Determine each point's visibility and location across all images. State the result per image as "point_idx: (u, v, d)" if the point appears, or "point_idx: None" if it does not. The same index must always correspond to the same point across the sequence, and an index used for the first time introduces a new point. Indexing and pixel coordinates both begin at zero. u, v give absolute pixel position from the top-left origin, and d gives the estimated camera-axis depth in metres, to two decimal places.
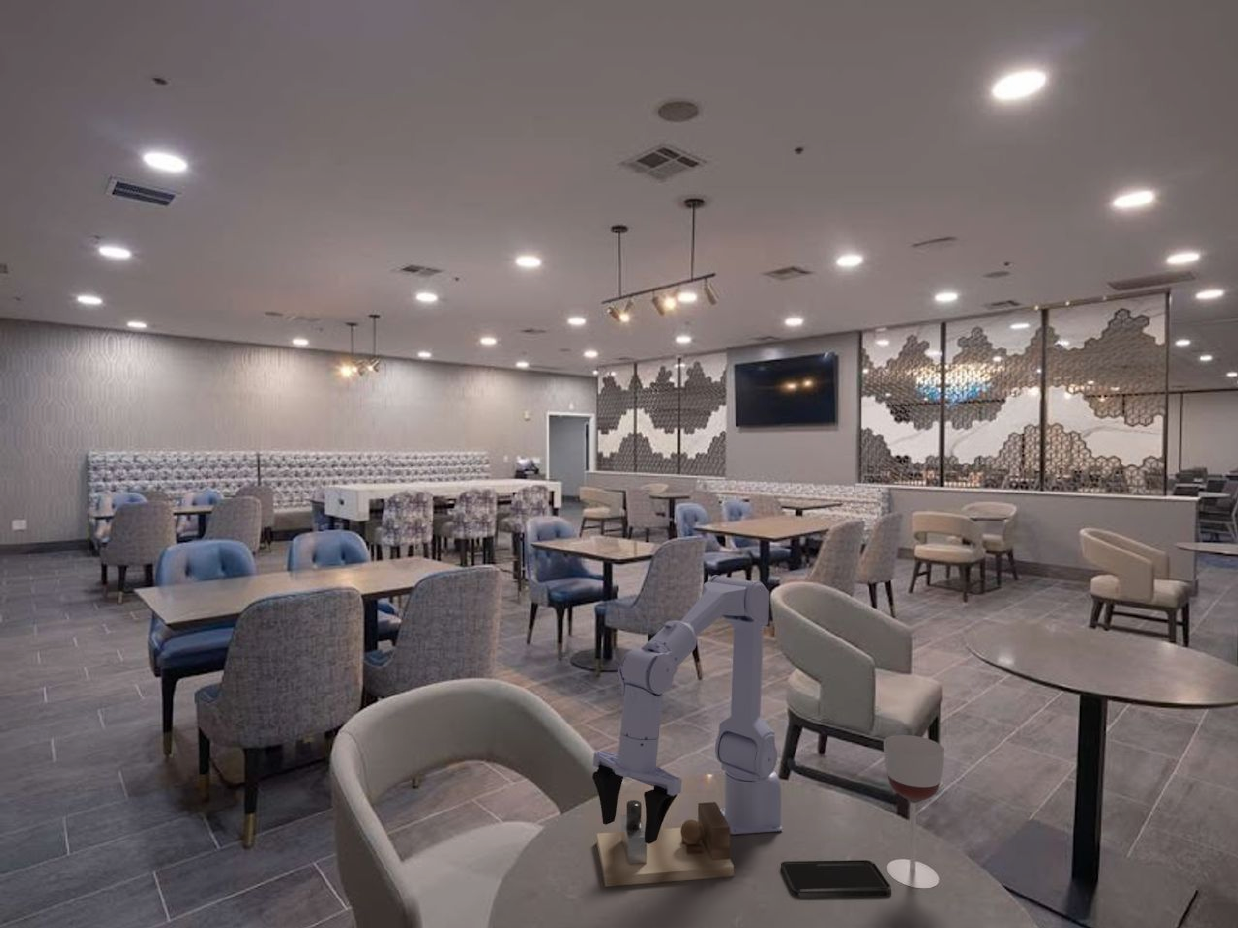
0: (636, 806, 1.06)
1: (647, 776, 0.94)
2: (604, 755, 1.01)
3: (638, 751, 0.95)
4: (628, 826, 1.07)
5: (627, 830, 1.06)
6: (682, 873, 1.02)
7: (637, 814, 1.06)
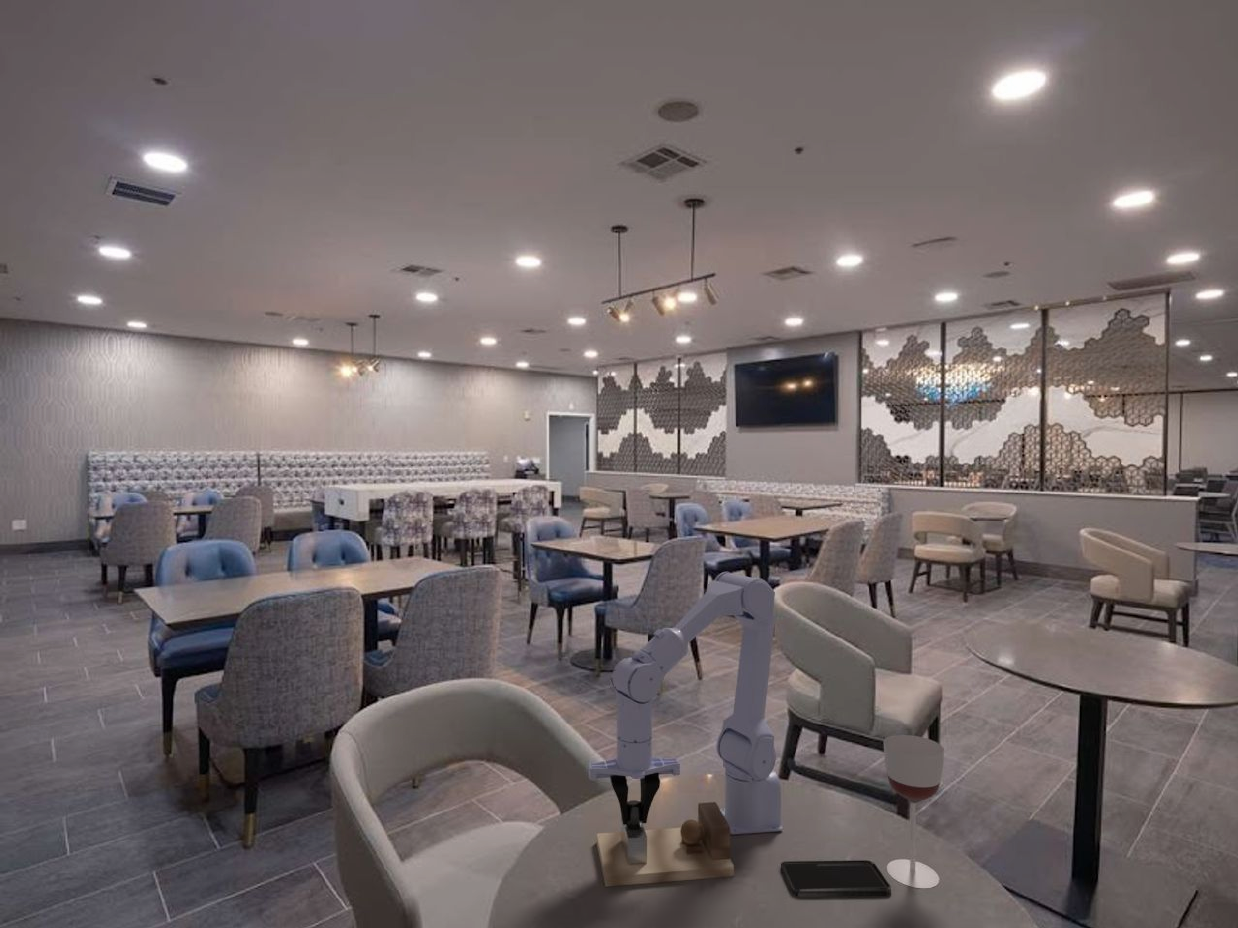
0: (636, 806, 1.06)
1: (657, 768, 1.06)
2: (598, 766, 1.06)
3: (647, 751, 1.05)
4: (628, 826, 1.07)
5: (627, 830, 1.06)
6: (682, 873, 1.02)
7: (637, 814, 1.06)
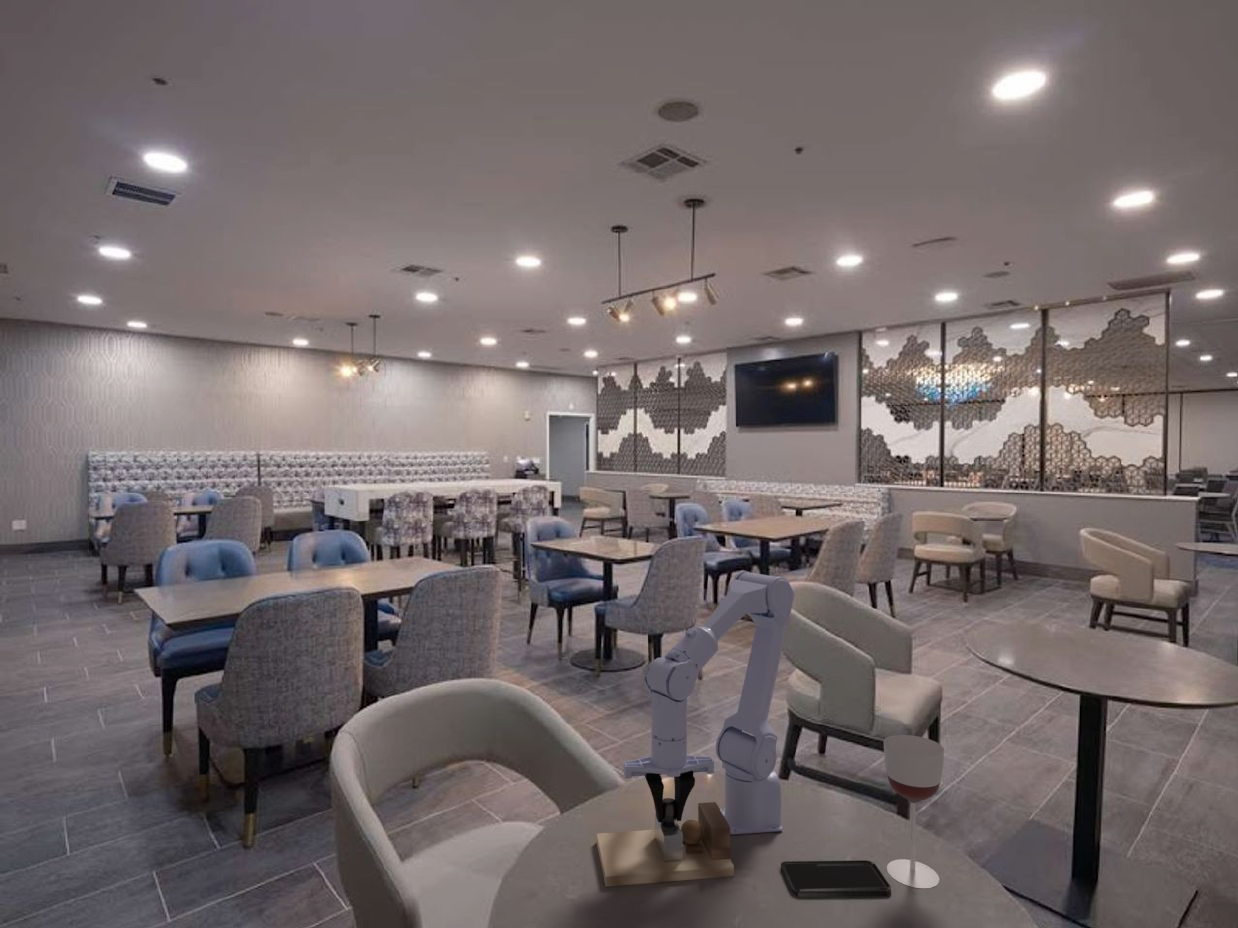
0: (670, 804, 1.07)
1: (692, 766, 1.07)
2: (633, 764, 1.07)
3: (682, 750, 1.06)
4: (663, 824, 1.07)
5: (662, 827, 1.07)
6: (682, 873, 1.02)
7: (672, 812, 1.07)
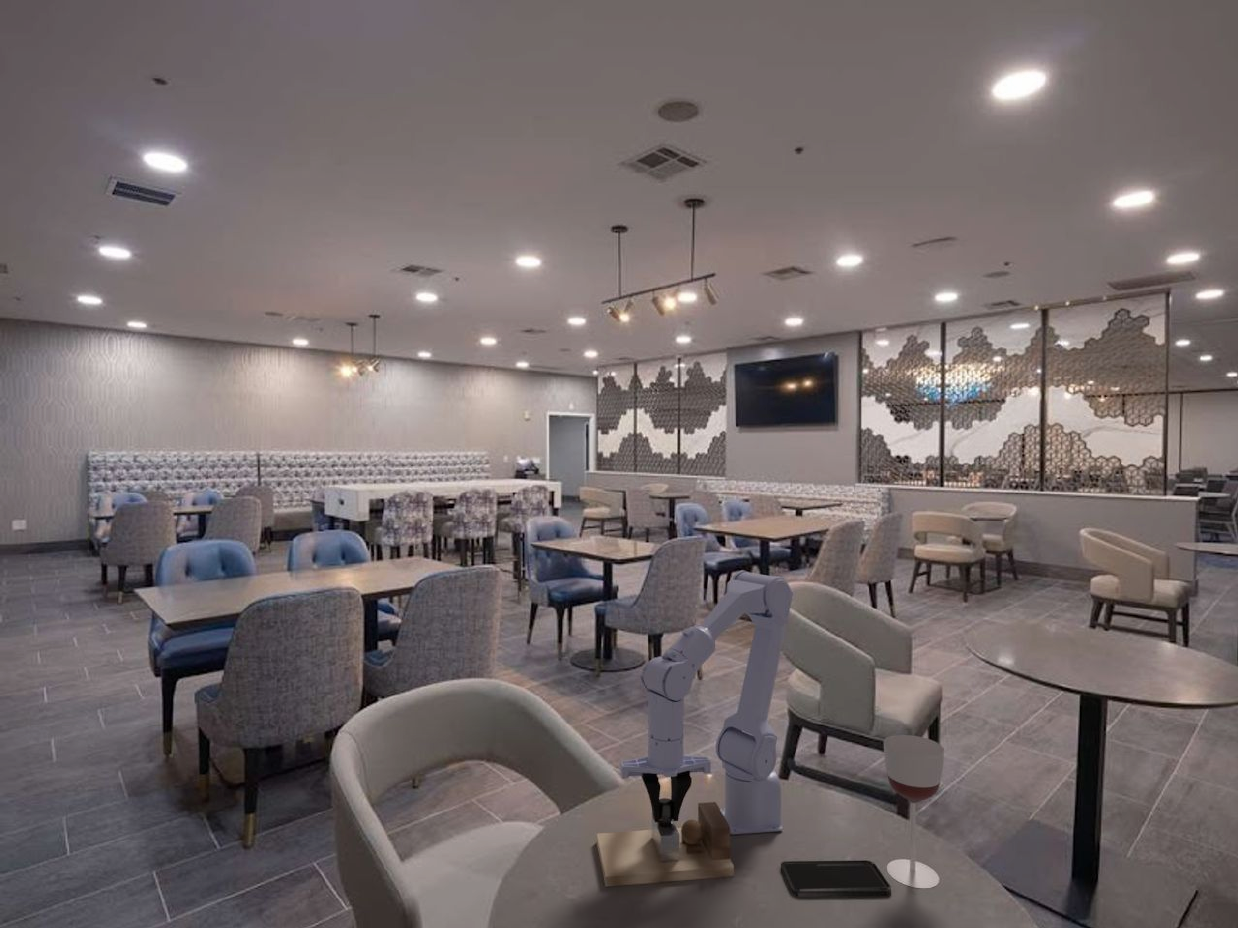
0: (667, 804, 1.07)
1: (689, 766, 1.07)
2: (630, 764, 1.07)
3: (679, 750, 1.06)
4: (660, 824, 1.07)
5: (659, 828, 1.07)
6: (682, 873, 1.02)
7: (669, 812, 1.07)
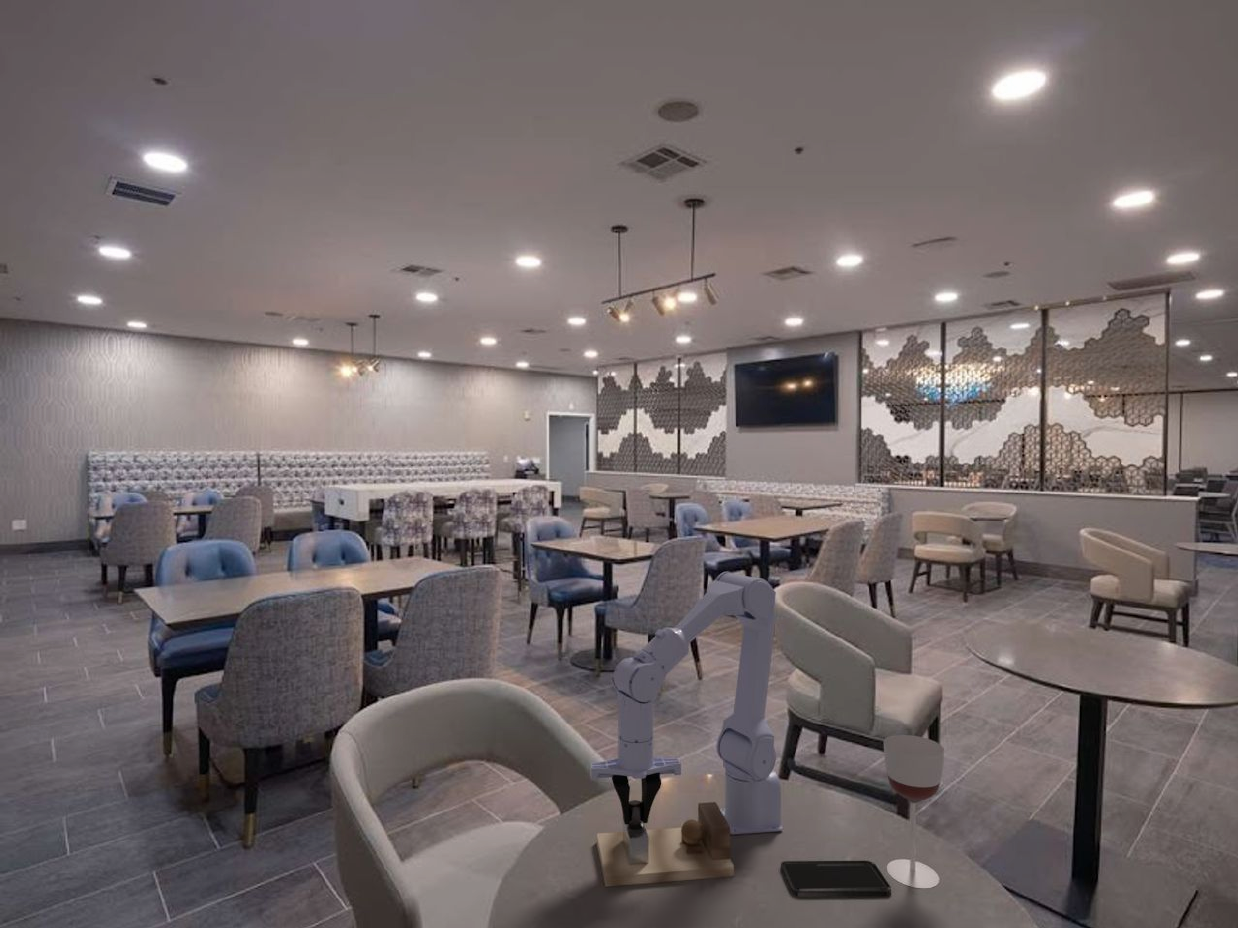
0: (637, 806, 1.07)
1: (659, 768, 1.06)
2: (599, 766, 1.06)
3: (648, 751, 1.05)
4: (629, 826, 1.07)
5: (629, 830, 1.06)
6: (682, 873, 1.02)
7: (638, 814, 1.06)
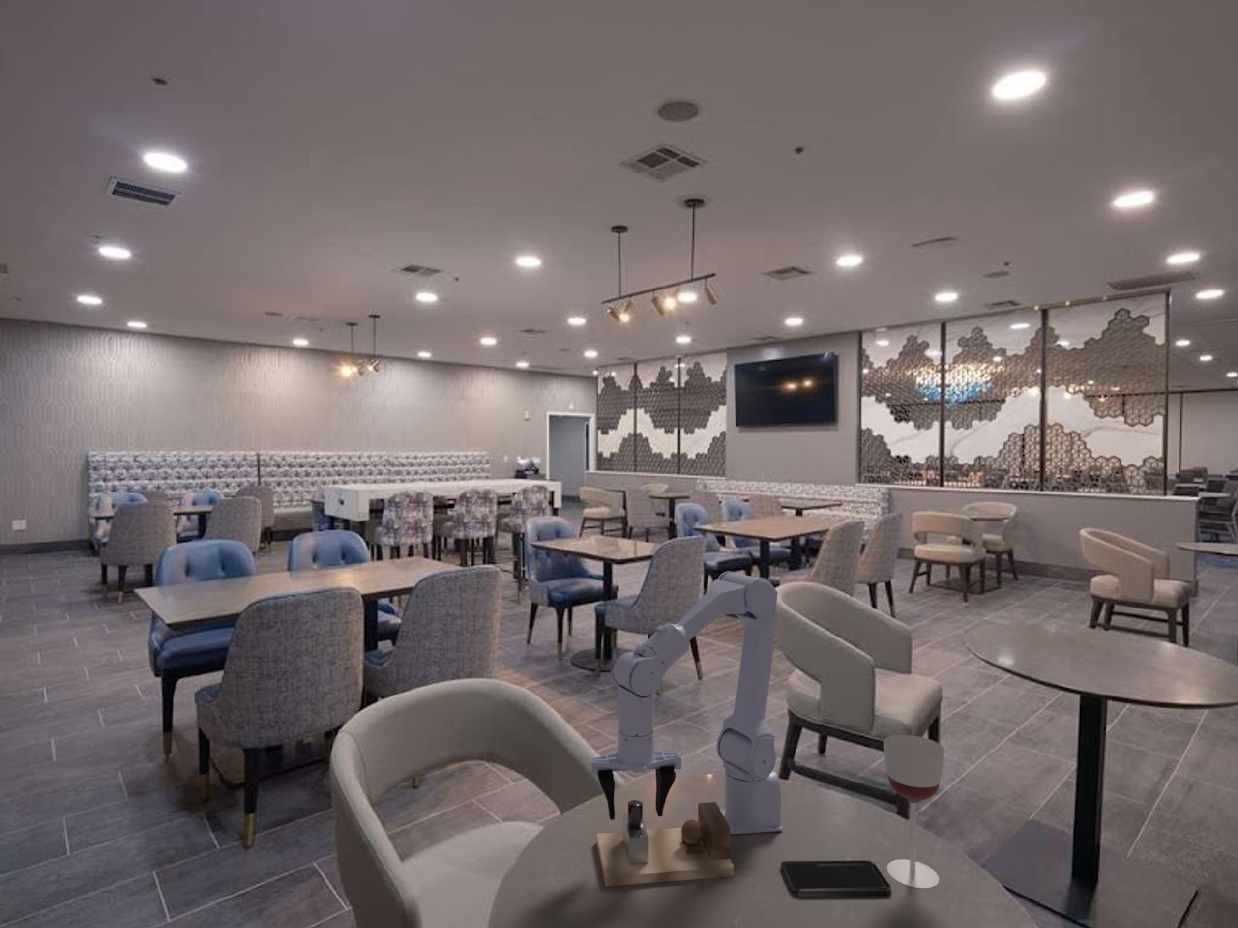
0: (637, 806, 1.07)
1: (659, 762, 1.06)
2: (600, 760, 1.06)
3: (648, 745, 1.05)
4: (629, 826, 1.07)
5: (629, 830, 1.06)
6: (682, 873, 1.02)
7: (638, 814, 1.06)
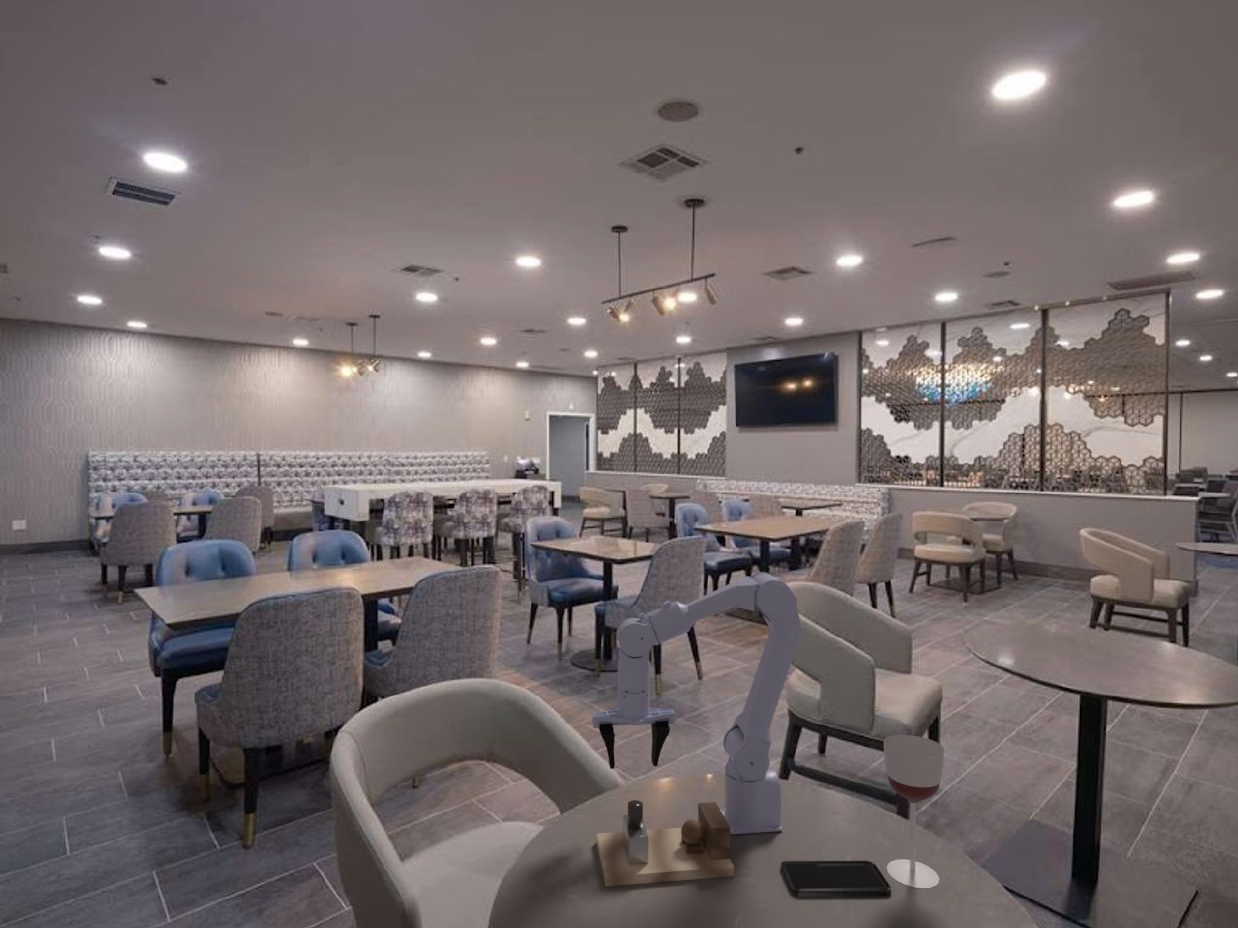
0: (637, 806, 1.07)
1: (654, 717, 1.17)
2: (601, 715, 1.18)
3: (645, 701, 1.17)
4: (629, 826, 1.07)
5: (629, 830, 1.06)
6: (682, 873, 1.02)
7: (638, 814, 1.06)
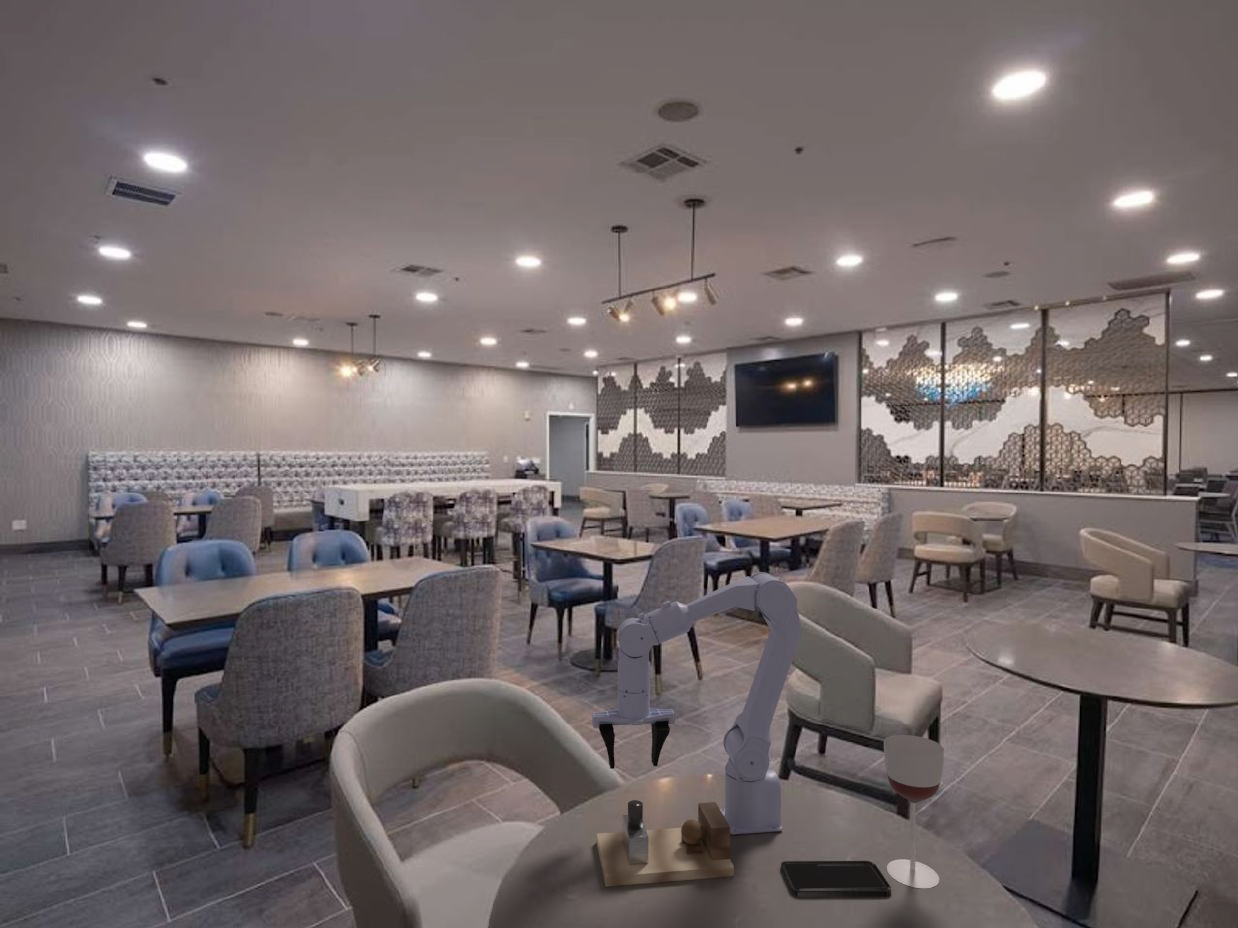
0: (637, 806, 1.07)
1: (654, 717, 1.17)
2: (601, 715, 1.18)
3: (645, 701, 1.17)
4: (629, 826, 1.07)
5: (629, 830, 1.06)
6: (682, 873, 1.02)
7: (638, 814, 1.06)
